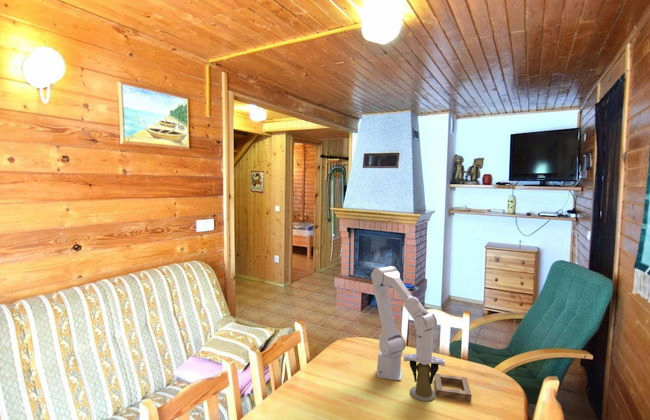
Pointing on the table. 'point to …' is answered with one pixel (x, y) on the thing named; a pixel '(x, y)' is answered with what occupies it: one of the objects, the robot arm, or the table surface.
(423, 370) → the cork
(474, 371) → the table surface
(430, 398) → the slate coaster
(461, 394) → the walnut holder
